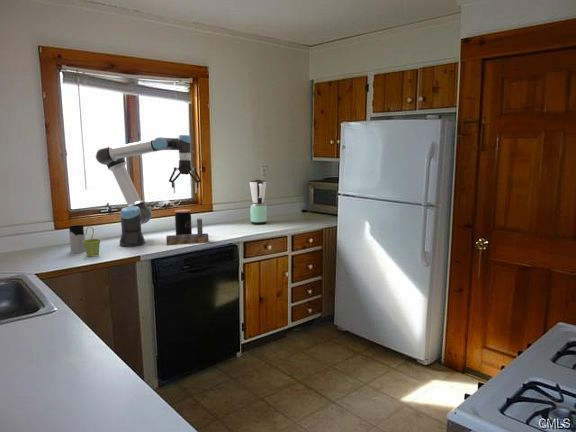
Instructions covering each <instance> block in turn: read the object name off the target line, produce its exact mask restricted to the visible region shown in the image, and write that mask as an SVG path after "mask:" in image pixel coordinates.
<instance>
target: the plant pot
mask: <svg viewBox="0 0 576 432" xmlns="http://www.w3.org/2000/svg"><path fill="white" fill-rule="evenodd" d="M101 241H102V239H101V238H92V239H91V238H90V239H85V240H84V241H83V243H84V245H85V249H86V252H85V253H86V256H87V257H89V258H90V257H97V256H99V254H100V246H101V245H100V243H101Z"/></svg>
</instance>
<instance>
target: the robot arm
mask: <svg viewBox="0 0 576 432" xmlns="http://www.w3.org/2000/svg"><path fill="white" fill-rule="evenodd" d="M191 143H192V142H191V136H190V135H187V134H178V136H177V137H162V136H160V137H155V138H151V139H147V140H142V141H136V142H131V143H127V144H122V145H116V146H115V145H106V146H105V145H103V146H100V147H98V148H97V149H96V151H95V156H94V157H95V159H96V161H97V162H98V163H99V164H101V165H104V166H106V167H107V170H109V171H111V172H112V174H113V176H114V178H115V180H116V182H117V185H118V187H119V189H120V191H121V193H122V195H123V197H124V200H125V202H126V204H127V206H126V207H122V208H121V210H120V213H119V214H120V215H119V216H120V225H121V235H120V239H119V246H120V247H124V248H125V247H130V248H131V247H139V246H143V245H145V243H146V240H145V237H144V235H143V232H142V225H144V224H147V223H148V222H149V221H150V220H151V218H152V216H153V215H152V214H153V213H152V209H151V208H150V207H149V206H147V205H146V203H145V201H144V200H143V199H142V200H141V198H140V196H139V194H138V192H137V190H136V187H135V184H134V182H133V180H132V178H131V176H130V174H129V172H128V170H127V167H126V164H127V162H126V158H130V157H134V156H139V155H143V154H150V153H154V152H155V153H156V152H160V151H178V159H179V160H178V167H173V172H172V173H171V176H170V178H169V180H168V182H169V183H171V188H172V189H173V194H176V183H175V181H176V180H177V179H178V178H179V176H180V175H190V176H191V178H192V179H193V180H194V181H195V187H194V188H195V194H197V193H198V192H197V191H198V190H197V189H198V188H199V183H201V182H202V179H201V178H200V175H199V174H198V171H197V168H196V167H192V160H191V159H192V152H191V151H192V145H191ZM177 171H179V172H178V173H177V175H176V176H175V173H176V172H177ZM191 171H193V172H194V173H195V176H196V177H197V178H196V177H195V176H194V175H193V173H191ZM174 176H175V177H174Z"/></svg>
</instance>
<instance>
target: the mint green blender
mask: <svg viewBox="0 0 576 432" xmlns="http://www.w3.org/2000/svg"><path fill="white" fill-rule="evenodd" d="M266 187H267V180H264V179H263V180H262V179H254V180H249V188H250V194H251V200H252V202H251V203H250V208H249V210H250V211H249V213H250V214H249V215H250V217H249V218H250V223H251V224H253V225H255V226H256V225H257V224H258V225H260V224H263V225H267V221H268V219H267V218H268V217H267V215H268V214H267V212H268V211H267V203H266V202H265V197H266V196H265V195H266Z"/></svg>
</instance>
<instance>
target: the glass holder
mask: <svg viewBox="0 0 576 432" xmlns="http://www.w3.org/2000/svg"><path fill="white" fill-rule="evenodd" d="M68 228H69V231H68V232H69V233H68V234H69V244H70V253H71V254H80V253H86V249H85V245H84V243H83V241H84V240H86V239H85V235H87V234H88V229H89V228H91V230H92V235H91V237H90V239H93V237H94V235H95V234H94V233H95V231H94V228H93V227H92V226H88V227H86V230H85V231H84V225H82V224H81V225H80V224H79V225H78V224H77V225H71V226H69V227H68Z"/></svg>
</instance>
